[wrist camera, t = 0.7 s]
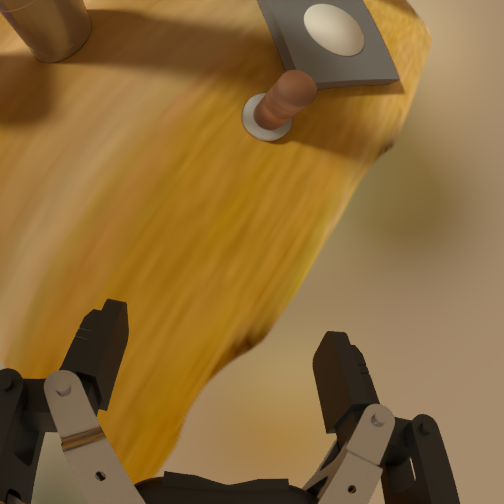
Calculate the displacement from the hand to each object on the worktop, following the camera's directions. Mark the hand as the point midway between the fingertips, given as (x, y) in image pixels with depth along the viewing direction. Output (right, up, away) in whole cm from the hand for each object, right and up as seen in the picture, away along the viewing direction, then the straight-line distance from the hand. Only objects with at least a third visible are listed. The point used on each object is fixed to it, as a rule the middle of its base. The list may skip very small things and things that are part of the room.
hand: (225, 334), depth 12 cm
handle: (+3, +20, +25) cm, 33 cm away
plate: (+12, +36, +26) cm, 46 cm away
